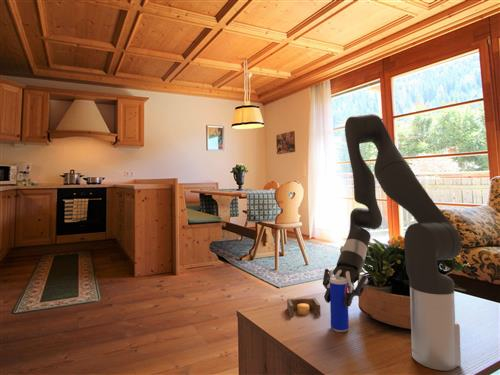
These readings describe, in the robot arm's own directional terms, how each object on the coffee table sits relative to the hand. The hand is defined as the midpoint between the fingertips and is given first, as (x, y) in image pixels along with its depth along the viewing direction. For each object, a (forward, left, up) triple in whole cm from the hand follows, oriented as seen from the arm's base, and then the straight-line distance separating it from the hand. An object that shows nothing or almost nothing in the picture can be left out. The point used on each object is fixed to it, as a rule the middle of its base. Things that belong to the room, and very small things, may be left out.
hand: (336, 303), depth 89 cm
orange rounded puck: (+7, -14, -8) cm, 18 cm away
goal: (+7, -15, -8) cm, 18 cm away
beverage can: (-1, -1, -8) cm, 8 cm away
